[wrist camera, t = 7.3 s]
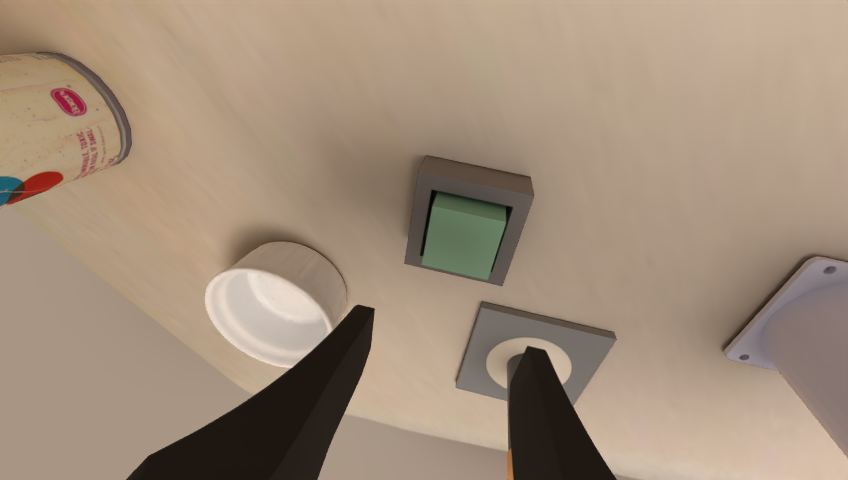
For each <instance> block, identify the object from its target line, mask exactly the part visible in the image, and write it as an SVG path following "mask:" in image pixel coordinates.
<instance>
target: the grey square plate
mask: <svg viewBox="0 0 848 480" xmlns="http://www.w3.org/2000/svg"><path fill="white" fill-rule="evenodd" d="M616 340H617V339H616V336H615V334H614V333H613V332H608V331H604V330H600V329H596V328H591V327H587V326H583V325H579V324H574V323H570V322H566V321H562V320H557V319H553V318H549V317H545V316H540V315H536V314H532V313H528V312H524V311H519V310H515V309H511V308H507V307H502V306H498V305H494V304H490V303H485V302H482V304H481V307H480V310H479V313H478V316H477V319H476V323H475V326H474V329H473V332H472V335H471V338H470V341H469V344H468V347H467V350H466V353H465V356H464V360H463V363H462V366H461V369H460V372H459V375H458V378H457V381H456V388H458V389H462V390H466V391H470V392H474V393H478V394H482V395H485V396H489V397H493V398H497V399H501V400H505V401H507V362H508V360H509V359H510V358H511V357H513V356H515V355H517V354H521V353H524V352H525V350H526V347H527V346H531V347H536V348H540V349H544V350H546V352H547V353H548V356H549V358H550V360H551V362H552V364H553V367H554V369H555V371H556V373H557V375H558V377H559V380H560V382H561V384H562V386H563V388H564V390H565V392H566V394H567V396H568V398H569V400H570V402H571V404H572V406H573V405H574V404H575V402H576V401H577V399H578V398H579V396H580V395H581V393H582V392H583V390H584V389H585V387H586V386H587V384H588V383H589V381H590V380H591V378H592V376H593V375H594V373H595V372H596V370H597V369H598V367H599V366H600V364H601V363H602V361H603V360H604V358H605V357H606V355H607V354H608V352H609V351H610V349H611V347H612V346H613V344H614V343H615V341H616Z"/></svg>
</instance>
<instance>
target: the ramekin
mask: <svg viewBox="0 0 848 480" xmlns="http://www.w3.org/2000/svg"><path fill="white" fill-rule="evenodd" d="M346 301H347V292H346V287H345V284H344V281H343V279H342V277H341V276H340V274H339V272H338V271H337V270H336V268H335V267H334V266H333V265H332V264H331V263H330V262H329V261H328V260H327V259H326V258H324V257H323V256H322V255H320V254H319V253H317V252H316V251H314V250H312V249H310V248H308V247H306V246H303V245H300V244H297V243H292V242H282V241H281V242H270V243H266V244H263V245H261V246H260V247H258V248H256V249H255V250H253V251H251V252H250V253H248V254H247V255H246V256H245V257H243V258H242V259H241V260H240V261H238V262H237V263H236V264H234V265H233V266H232V267H229V268H227V269H225V270H223V271H222V272H220V273H219V274H217V275H216V276H215V277H214V278H213V279H211V281H210V282H209V284H208V285H207V288H206V291H205V305H206V309H207V312H208V315H209V317H210V319H211V321H212V322H213V324H214V325H215V327H216V328H217V329H218V331H219V332H220V333H221V334H222V335H223V336H224V337H225V338H226V339H227V340H228V341H229V342H231V343H232V344H233V345H234V346H236V347H237V348H238V349H240V350H241V351H243V352H244V353H246V354H248V355H250V356H251V357H253V358H255V359H258V360H260V361H262V362H265V363H268V364H271V365H275V366H279V367H285V368H292V367H293V366H294V365H296V364H297V363H298V362H299V361H300V360H301V359H303V358H304V357H305V356H306V355H307V354H308V353H309V352H311V351H312V350H313V349H314V348H315V347H316V346H317V345H318V344H319V343H320V342H321V341H322V340H323V339H325V338H326V337H327V336H328V335H329V334H330V333H331V332H332V331H333V330H334V329H335V328H336V327H337V326H338V325H339V322H340V320H341V317H342V315H343V312H344V309H345V305H346Z"/></svg>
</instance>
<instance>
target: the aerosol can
mask: <svg viewBox="0 0 848 480" xmlns="http://www.w3.org/2000/svg"><path fill="white" fill-rule="evenodd" d="M130 147H131V130H130V126H129V124H128V121H127V118H126V115H125V112H124V110H123V109H122V107H121V105H120V104H119V102H118V100H117V99H116V97H115V96H114V94H113V93H112V91H111V90H110V89H109V88H108V87H107V86H106V85H105V84H104V82H103V81H102V80H101V79H100V78H99V77H98V76H97V75H96V74H94V73H93V72H92V71H91V70H89V69H88V68H87V67H85V66H84V65H83V64H81V63H80V62H78V61H76V60H74V59H72V58H69V57H67V56H65V55H63V54H58V53H50V52H39V53H36V54H35V53H25V54H11V55H0V208H2V207H5V206H7V205H10V204H13V203H15V202H18V201H21V200H23V199H26V198H29V197H31V196H34V195H36V194H39V193H42V192H44V191H47V190H50V189H52V188H55V187H58V186H60V185H63V184H66V183H68V182H71V181H73V180H76V179H79V178H81V177H84V176H87V175H89V174H92V173H95V172H97V171H100V170H103V169H105V168H108V167H110V166H112V165H116V164H118V163H120V162H121V161H122V160H124V159H125V158H126V157H127V156H128V153H129V150H130Z"/></svg>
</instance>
